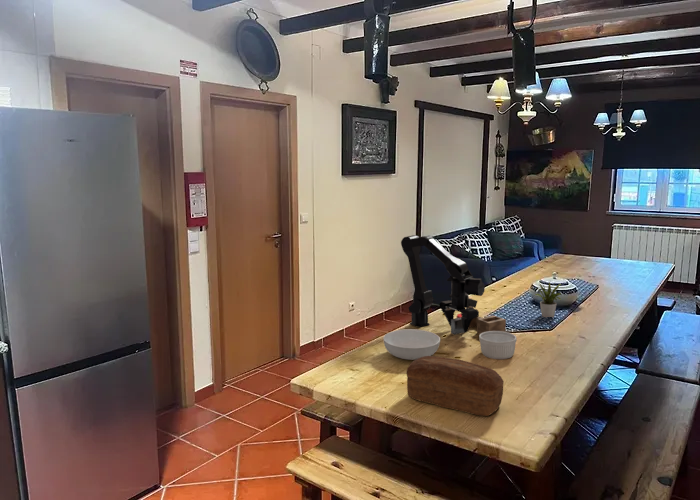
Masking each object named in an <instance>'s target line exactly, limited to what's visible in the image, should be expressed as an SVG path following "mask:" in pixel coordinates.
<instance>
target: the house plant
mask: <svg viewBox="0 0 700 500" xmlns="http://www.w3.org/2000/svg"><path fill="white" fill-rule="evenodd" d="M531 284H532V285H535V286H537V284H535V283H531ZM547 285H548V287H547V291H546V288H545V285H544V284H542V282H540V281H539V288H538V290H539V292H540V293H541V294H540V293H535V294H534V296H538V297H540V298H541V299H542V301H540V302H539V304H540V305H539V306H540V312H541V316H542V317H543V318H547V317H552V318H554V317H555V313H556V308H557V302H556V301H557V300H560V301H561V297H558V296H561V295H562V293H558V292H557V291H558V289H559V288H560V289H561V288H563V287H559V286H561V285H562V283H561V284H558V285H556V286H555V287H554V288H553V289H552V285H551V281H549V282H548V284H547ZM556 292H557V293H556Z"/></svg>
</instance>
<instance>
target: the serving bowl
mask: <svg viewBox="0 0 700 500" xmlns="http://www.w3.org/2000/svg"><path fill="white" fill-rule="evenodd" d="M382 340H383V344H384V347H385V349H386V351H387V352H388V353H389V354H390V355H392V356H394V357H396V358H398V359H403V360H409V361H410V360H413V361H414V360H416V359H418V358H420V357H424V356H434V354H435V353H436V352H437V351H438V350H439V347H440V343H441V337H440V336H439V335H438V334H436V333H434V332H432V331H428V330H425V329H416V328H415V329H414V328H407V329H406V328H405V329H397V330H393V331H390V332H388V333H385V334H384V335H383V337H382Z"/></svg>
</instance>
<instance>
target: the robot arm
mask: <svg viewBox="0 0 700 500" xmlns="http://www.w3.org/2000/svg"><path fill="white" fill-rule="evenodd" d="M400 245H401V248H402V251H403V252H404V254H405V256H406V257H407V258H408V259H407V260H408V263H409V269H410V273H411V278H412V279H411V280H412V283H413V288H414V291H413V295H412V303H411V305H409V307H408V311H409V313H411V321H410V322H409V325H411V326H414V327H417V328H420V327H425V326H426V327H427V326H429V325H430V323H429V314H428V311H429V310H430V308H431V306H432V305H433V300H434V297H433V291H432V290H429V289H428V288H427V286H426V283H425V277H424V271H423V268H422V263H421V256H420V252H421V248H422V247H423V246H424V247H425V248H426V249H427V250H428V251H429V252H431V254H432V255H434V256H435V257H436V258H437V259H438V260H439V261H440V262H441V263H442V264H443V266H444V267H445V270H446V271H447V272H448V273H449V275H450V276H448V278H447V279H446V281H447V282H449V283H450V282H451V294H449V298H451V300H444V301H440V303H439V309H440V310H441V312H442V313H443V314H444V315H443V316H445V318H446V320H447V322H448V325H449V326H450V327H451V319H455V318H454V316H455V312H456V311H457V312H459V313H460V314H461V315H462V317H461V320H462V324H463V329H464V332H465V333H467V332H468V331H469V325H470V323H471V321H472V320H473V319H474V318H476V317H478V316H479V315H480V311H479V310H478V309H476V307H477V304H478V300H477V299H476V300H475V299H473V298H470V297H468V296H469V295H472V296H476V297H477V296H478V297H482V296H483V295H484V293H485V287H486V286H485V283H484V282H483V279H482V278H474V276H473V274H472V272H471V271H470V270H469V266H468V264H467V263H466V262H465V261H463V260H461V259H460V258H459V257H455V256H453V255H452V254H451V253H449V251H447V250H446V248H444V247H443V245H441V244H440V243H439V242H437V241H436V240H435V239H434V237H433V236H431V235H426V236H418V235H415V234H412V235H407V236H404V237H403V238H402V239H401V240H400ZM467 294H468V295H467ZM469 306H471V307H473V308H468V307H469ZM466 308H468V309H466ZM479 317H480V316H479Z"/></svg>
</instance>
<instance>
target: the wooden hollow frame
mask: <svg viewBox="0 0 700 500" xmlns="http://www.w3.org/2000/svg"><path fill="white" fill-rule="evenodd" d="M468 308H474V307H471V306H469V307H468ZM468 308H467V309H468ZM506 324H507V319H505V318H502V317H500V316H498V315H497V316H496V315H489V316H486V317H485V316H484V317H481V316H478V317H476V318H474V319H473V320H472V321H471V323H470V325H469V328H474V327H476V334H479V335H480V334H481V333H483V332H488V331H503V332H507V331H506V326H507V325H506ZM469 328H468V329H469Z"/></svg>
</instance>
